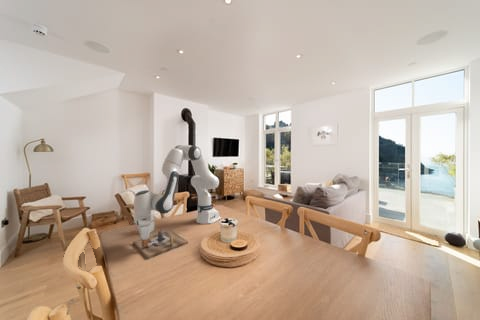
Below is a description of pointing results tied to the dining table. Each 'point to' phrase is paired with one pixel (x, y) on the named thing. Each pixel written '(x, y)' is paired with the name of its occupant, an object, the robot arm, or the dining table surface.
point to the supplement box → (152, 222)
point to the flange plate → (155, 241)
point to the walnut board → (157, 250)
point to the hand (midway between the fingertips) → (142, 241)
